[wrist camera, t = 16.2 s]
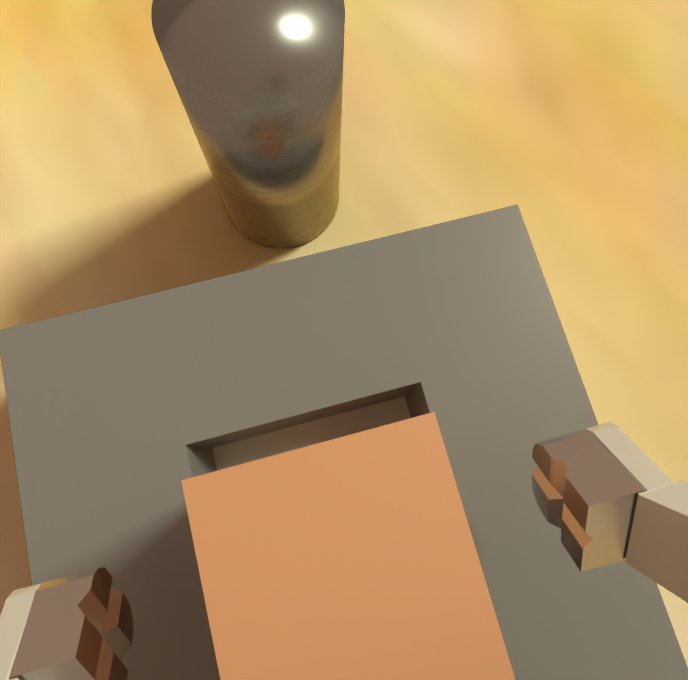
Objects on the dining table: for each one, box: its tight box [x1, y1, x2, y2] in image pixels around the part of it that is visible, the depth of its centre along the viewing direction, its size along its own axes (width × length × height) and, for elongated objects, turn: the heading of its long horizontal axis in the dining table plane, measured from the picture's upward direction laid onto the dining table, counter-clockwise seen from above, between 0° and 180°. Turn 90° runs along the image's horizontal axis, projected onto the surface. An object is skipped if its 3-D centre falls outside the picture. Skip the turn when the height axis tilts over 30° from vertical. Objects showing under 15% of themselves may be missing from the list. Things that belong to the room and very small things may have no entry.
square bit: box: [181, 412, 515, 680], centre depth 12 cm, size 4×4×8 cm
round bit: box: [152, 0, 345, 249], centre depth 15 cm, size 4×4×8 cm
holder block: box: [0, 205, 688, 680], centre depth 15 cm, size 14×14×4 cm
